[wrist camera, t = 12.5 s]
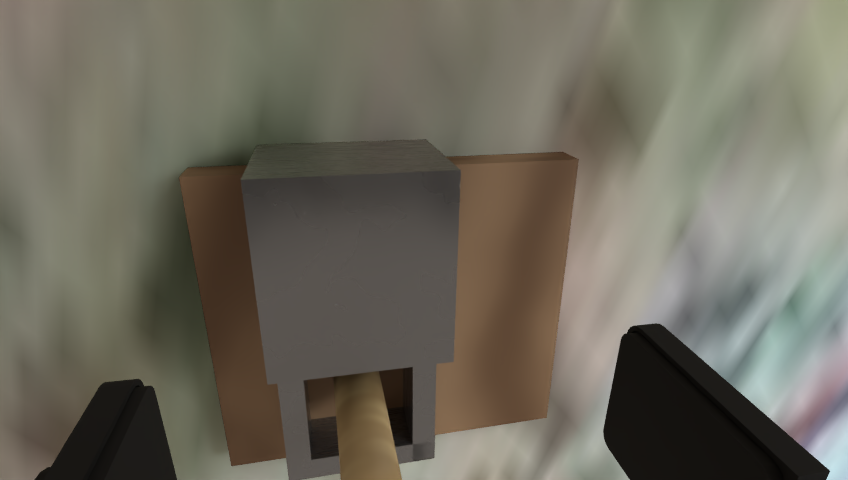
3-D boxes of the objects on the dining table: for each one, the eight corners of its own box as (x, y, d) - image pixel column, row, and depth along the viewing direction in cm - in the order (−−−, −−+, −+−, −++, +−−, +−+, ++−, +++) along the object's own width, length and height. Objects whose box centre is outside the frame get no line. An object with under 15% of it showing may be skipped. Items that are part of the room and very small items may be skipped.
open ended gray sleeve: (422, 419, 25) (448, 504, 21) (290, 439, 24) (287, 533, 19) (426, 139, 20) (461, 169, 15) (257, 144, 19) (240, 179, 14)
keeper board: (562, 152, 23) (691, 210, 15) (534, 399, 28) (620, 536, 20) (187, 167, 20) (110, 251, 12) (235, 442, 25) (203, 623, 17)
